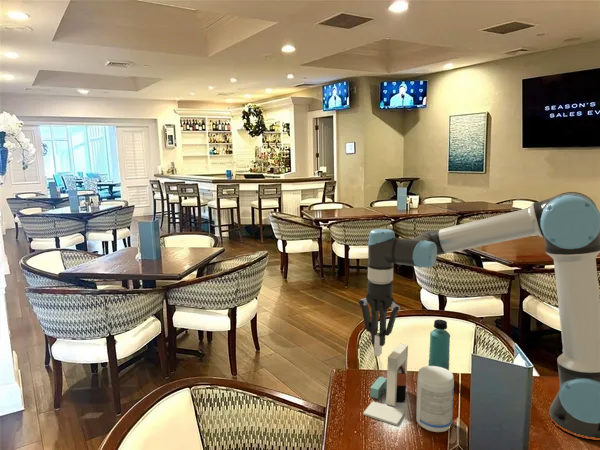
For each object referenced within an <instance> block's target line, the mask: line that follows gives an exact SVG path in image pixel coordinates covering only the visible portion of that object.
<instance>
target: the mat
mask: <svg viewBox="0 0 600 450" xmlns="http://www.w3.org/2000/svg"><path fill="white" fill-rule="evenodd" d="M362 415H363V416H366V417H368V418H371V419H375V420H379V421H381V422H384V423H387V424H389V425H393V426H397V427H398V425H399V423H400V422H401V421H402V419H403V417H404V416H405V415H406V411H405V410H402V409H399V408H397V407H396V408H395V407H394V406H391V405H387V404H383V403H380V402H379V403H378V402H376V401H374V400H372V401H371V403H370V404H369V405H368V406H367V407H366V408H365V410H364V411H363V413H362Z"/></svg>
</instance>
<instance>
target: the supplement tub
mask: <svg viewBox="0 0 600 450" xmlns="http://www.w3.org/2000/svg"><path fill="white" fill-rule="evenodd" d="M417 372H418V373H417V383H416V384H417V385H416V409H415V411H416V412H415V413H416V414H415V415H416V418H415V419H416V422H417V424H418V425H419V426H420V427H422V428H423V429H424V430H427V431H429V432H432V433H433V432H435V433H443V432H446V431H448V430H450V429H449V427H450V425H451V424H452V425H453V413H454V411H453V410H454V388H455V379H454V374H453V372H451V371H450V369H449V370H447V369H445V368H442V367H437V366H429V365H427V366H423V367H420V368H419V369H418V371H417Z"/></svg>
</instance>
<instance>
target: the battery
mask: <svg viewBox="0 0 600 450" xmlns="http://www.w3.org/2000/svg"><path fill="white" fill-rule="evenodd" d="M407 376H408V374H407V375H406V373H405V370H404V368H403V365H401V366H400V367H399V368H398V370H397V392H396V403H402V404H403V403H406V400H407V399H406V397H407V396H406V394H407V380H406V377H407Z"/></svg>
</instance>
